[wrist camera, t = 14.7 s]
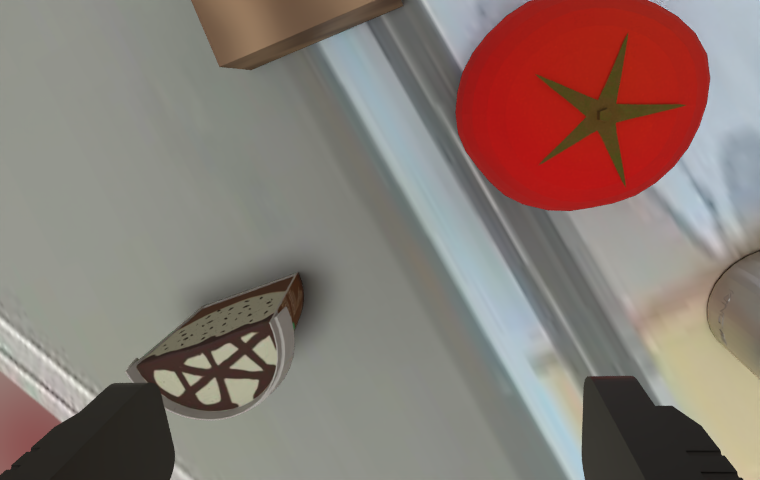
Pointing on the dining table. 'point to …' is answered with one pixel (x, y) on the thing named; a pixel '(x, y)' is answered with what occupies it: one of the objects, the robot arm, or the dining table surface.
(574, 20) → the tomato
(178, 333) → the food container
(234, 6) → the walnut block
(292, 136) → the dining table surface
